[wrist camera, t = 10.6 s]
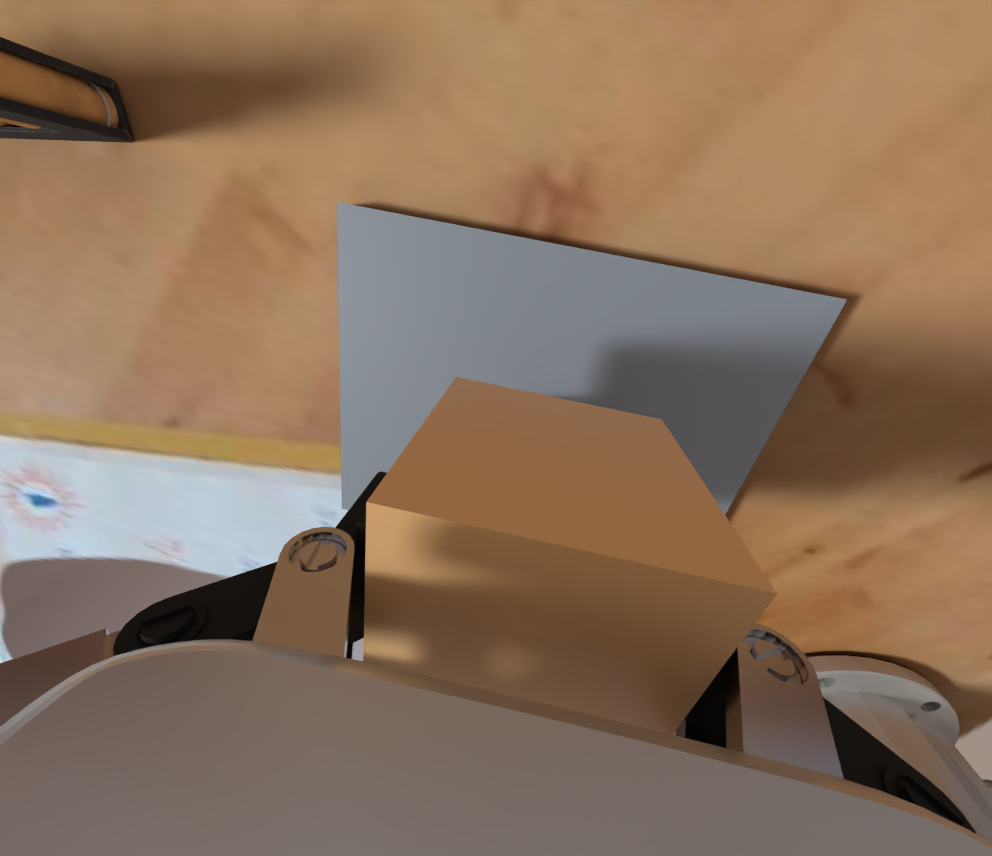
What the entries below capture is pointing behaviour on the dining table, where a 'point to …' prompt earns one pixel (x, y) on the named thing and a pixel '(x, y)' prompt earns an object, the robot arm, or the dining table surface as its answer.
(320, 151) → the dining table surface
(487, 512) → the beige wooden cube
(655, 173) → the dining table surface
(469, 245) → the gray rectangular slab
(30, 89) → the ammunition clip
